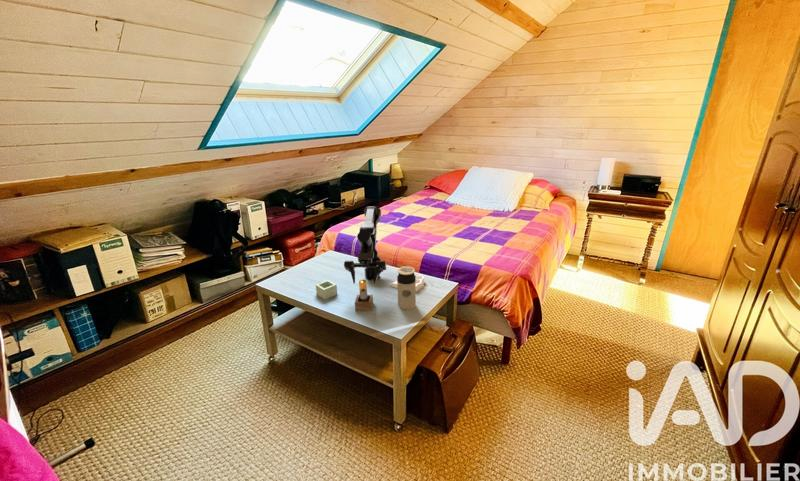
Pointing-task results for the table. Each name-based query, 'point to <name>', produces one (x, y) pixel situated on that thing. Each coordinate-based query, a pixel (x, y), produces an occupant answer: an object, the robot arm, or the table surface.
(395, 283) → the knuckle duster
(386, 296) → the table surface
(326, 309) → the table surface
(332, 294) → the cream square hollow block
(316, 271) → the table surface
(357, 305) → the brown square open box
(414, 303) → the travel mug
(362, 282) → the gold and grey cylinder
